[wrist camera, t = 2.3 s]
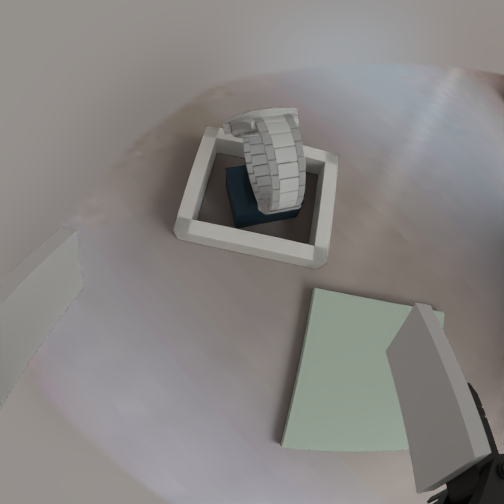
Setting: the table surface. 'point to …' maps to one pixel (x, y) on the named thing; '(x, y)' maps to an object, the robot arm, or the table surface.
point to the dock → (250, 241)
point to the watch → (266, 167)
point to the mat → (347, 377)
